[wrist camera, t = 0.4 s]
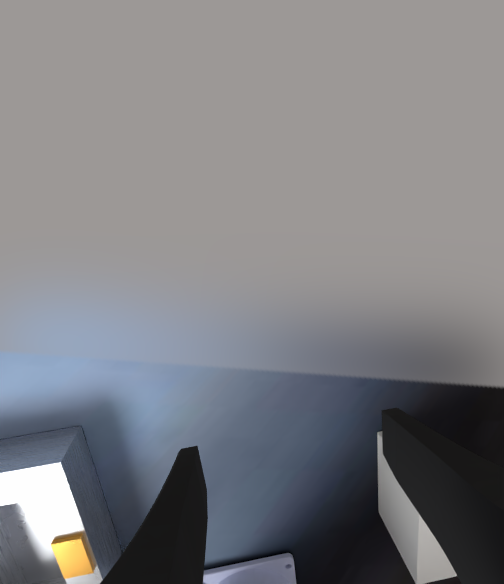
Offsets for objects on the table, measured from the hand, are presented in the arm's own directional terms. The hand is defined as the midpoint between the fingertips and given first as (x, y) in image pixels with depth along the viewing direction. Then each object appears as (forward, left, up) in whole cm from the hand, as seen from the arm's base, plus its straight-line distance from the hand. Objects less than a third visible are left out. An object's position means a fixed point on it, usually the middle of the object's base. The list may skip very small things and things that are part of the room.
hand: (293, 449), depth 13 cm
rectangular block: (-13, -10, -10) cm, 19 cm away
